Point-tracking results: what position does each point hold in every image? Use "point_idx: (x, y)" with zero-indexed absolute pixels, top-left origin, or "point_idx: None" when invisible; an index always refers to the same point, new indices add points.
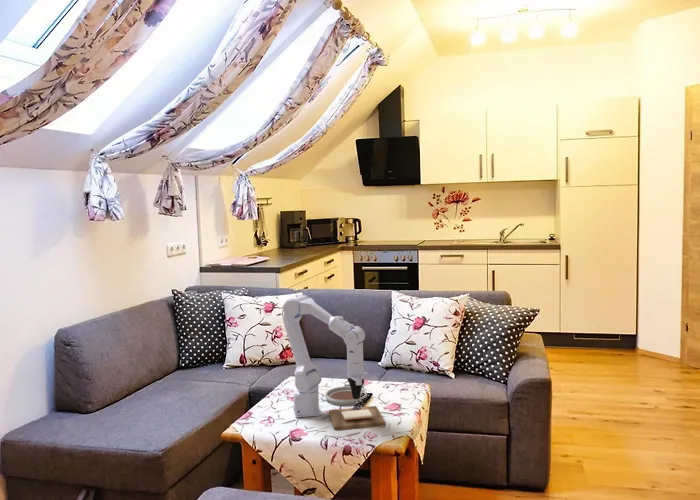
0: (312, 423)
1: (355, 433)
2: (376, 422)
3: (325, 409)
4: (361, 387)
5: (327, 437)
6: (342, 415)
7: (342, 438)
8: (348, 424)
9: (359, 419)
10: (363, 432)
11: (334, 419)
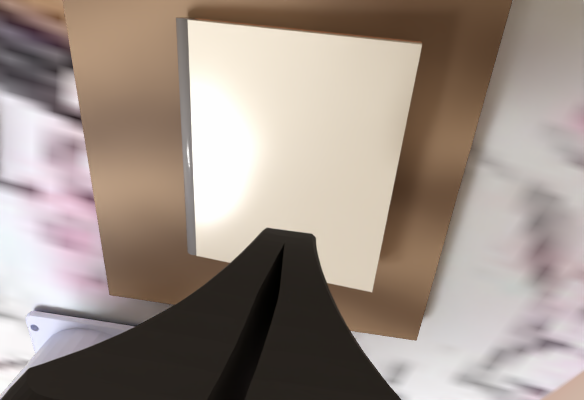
0: None
1: (542, 225)
2: (495, 14)
3: (52, 280)
4: (362, 355)
5: (502, 380)
6: None
7: (572, 319)
8: (420, 254)
9: None
10: (561, 166)
11: None
